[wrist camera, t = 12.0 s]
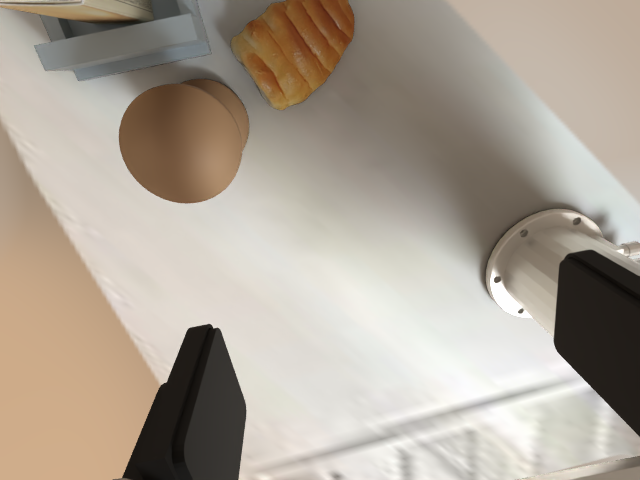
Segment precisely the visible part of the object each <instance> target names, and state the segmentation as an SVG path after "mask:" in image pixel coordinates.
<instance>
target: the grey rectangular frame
mask: <svg viewBox="0 0 640 480" xmlns="http://www.w3.org/2000/svg"><path fill="white" fill-rule="evenodd" d="M151 3H152V9H153V16H154V21H151V22H146V23H141V24H92V23H86V22H81V21H75V20H70V19H64V18H58V17H53V16H47V15H41V14H39V15H40V17H41V19H42V21H43V24H44V26H45V28H46V31H47V33H48V35H49V38H50V40H51V42H49V43H44V44H39V45H34V47H35V49H36V52H37V54H38V56H39V58H40V61H41V63H42V65H43V67H44V69H45V71H67V70H74V73H75V75H76V77H77V80H78V81H84V80H89V79H94V78H99V77H103V76H108V75H113V74H118V73H123V72H127V71H132V70H137V69H142V68H146V67H151V66H156V65H161V64H166V63H170V62H175V61H180V60H185V59H189V58H194V57H199V56H204V55H209V54H212V53H211V50H210V46H209V43H208V39H207V36H206V32H205V28H204V25H203V21H202V18H201V14H200V11H199V7H198V3H197V0H151Z"/></svg>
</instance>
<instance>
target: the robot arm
mask: <svg viewBox="0 0 640 480" xmlns="http://www.w3.org/2000/svg"><path fill="white" fill-rule="evenodd" d="M638 254H640V243H638V242H636V241H633V242H629V243H624V244H621V245H619V246H617V245H615V244H613V243H611V242H609V241H607V240H605V239H603V235H602V233H601V231H600V229H599V227H598V226H597V225H596V224H595V223H594V222H593V221H592V220H591V219H590V218H588V217H586V216H584V215H582V214H580V213H578V212H575V211H573V210H567V209H550V210H545V211H541V212H538V213H536V214H533V215H531V216H528V217H527V218H525V219H523V220H522V221H520V222H518V223H517V224H516V225H514V226H513V227H512V228H511V229H510V230H508V231H507V232H506V234H505V235H504V236H503V237H502V238H501V239H500V240H499V242H498V243H497V245H496V246H495V248H494V249H493V251H492V254H491V256H490V258H489V260H488V264H487V268H486V284H487V289H488V291H489V294H490V296H491V297H492V299H493V300H494V301H495V302H496V303H497V304H498V305H499V306H500V307H501V308H502V309H503V310H504V311H506V312H508V313H510V314H512V315H515V316H518V317H526V318H533V319H534V320H535V321H536V322H537V323H538V324H539V325H540V326H541V327H542V328H543V329H544V330H545V331H546V332H547V333H549V334H550V335H551V336H552V337H553V338H554V345H555V348H556V350H557V352H558V353H559V354H560V355H561V356H562V357H563V358H564V359H565V360H566V361H567V362H568V363H569V364H570V365H571V366H572V368H573V369H574V370H575V371H576V372H577V373H578V374H579V375H580V376H581V377H582V378H583V379H584V380H585V381H586V382H587V383H588V384H589V385H590V386H591V387H592V388H593V389H594V390H595V391H596V392H597V393H598V394H599V395H600V396H601V397H602V398H603V399H604V400H605V401H606V402H607V404H608V405H609V406H610V407H611V408H612V409H613V410H614V411H615V412H616V413H617V414H618V415H619V416H620V417H621V418H622V419H623V420H624V421H625V422H626V423H627V424H628V425H629V426H630V427H631V428H632V429H633V430H634V431H635V432H636V433H637V434H638V435H639V436H640V258H637V259H633V260H632V259H630V258H629V257H630V256H634V255H638ZM245 421H246V404H245V400H244V397H243V394H242V391H241V388H240V385H239V382H238V380H237V377H236V374H235V371H234V368H233V365H232V362H231V359H230V356H229V353H228V351H227V348H226V345H225V342H224V339H223V336H222V333H221V331H220V329H219V328H214V329H213V327H212V325H211V324H207V325H202V326H197V327H192V328H189V329H188V330H187V332H186V335H185V338H184V340H183V343H182V345H181V348H180V350H179V353H178V355H177V358H176V360H175V363H174V365H173V368H172V371H171V373H170V376H169V378H168V381H167V383H164V384H162V385H161V386H160V388H159V390H158V392H157V394H156V397H155V399H154V402H153V404H152V407H151V409H150V412H149V414H148V416H147V419H146V421H145V424H144V426H143V428H142V431H141V434H140V436H139V438H138V441H137V443H136V446H135V448H134V450H133V453H132V455H131V458H130V460H129V462H128V465H127V467H126V470H125V472H124V475H123V477H122V478H121V479H113V480H238V478H239V469H240V461H241V453H242V445H243V437H244V429H245ZM517 480H640V456H637V457H632V458H626V459H621V460H616V461H611V462H605V463H600V464H595V465H590V466H584V467H579V468H574V469H568V470H563V471H558V472H553V473H548V474H543V475H538V476H532V477H527V478H522V479H517Z"/></svg>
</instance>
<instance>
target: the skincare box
mask: <svg viewBox="0 0 640 480" xmlns="http://www.w3.org/2000/svg"><path fill="white" fill-rule="evenodd" d="M0 7H2V8H8V9H14V10H19V11H25V12H30V13H36V14H41V15H47V16H53V17H58V18H64V19H70V20H75V21H81V22H86V23H92V24H141V23H146V22H151V21H154V16H153V9H152V3H151V0H0Z"/></svg>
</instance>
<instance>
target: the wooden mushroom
mask: <svg viewBox="0 0 640 480" xmlns="http://www.w3.org/2000/svg"><path fill="white" fill-rule="evenodd" d="M248 134H249V120H248V115H247V112H246V109H245V107H244V105H243V103H242V102H241V100H240V99H239V98H238V96H237V95H236V94H235V93H234V92H233V91H232V90H231V89H229V88H228V87H226V86H225V85H223V84H221V83H219V82H216V81H213V80H208V79H194V80H189V81H185V82H183V83H181V84H168V85H162V86H158V87H155V88H152V89H149V90H147V91H145V92H144V93H142V94H141V95H139V96H138V97H137V98H136V99H135V100H133V101H132V103H131V104H130V105H129V106H128V108H127V110H126V111H125V113H124V115H123V118H122V120H121V124H120V129H119V145H120V150H121V154H122V157H123V160H124V162H125V164H126V166H127V168H128V170H129V171H130V173H131V174H132V175H133V177H134V178H135V179H136V180H137V181H138V182H139V183H140V184H141V185H142V186H143V187H144V188H146V189H147V190H148V191H150V192H151V193H153V194H154V195H156V196H158V197H161V198H163V199H166V200H169V201H172V202H177V203H197V202H202V201H205V200H208V199H211V198H213V197H215V196H216V195H218V194H220V193H221V192H222V191H223V190H225V189H226V188H227V187H228V185H229V184H230V183H231V182H232V180H233V179H234V177H235V175H236V173H237V171H238V168H239V165H240V162H241V157H242V150H243V149H244V147H245V144H246V142H247V138H248Z"/></svg>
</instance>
